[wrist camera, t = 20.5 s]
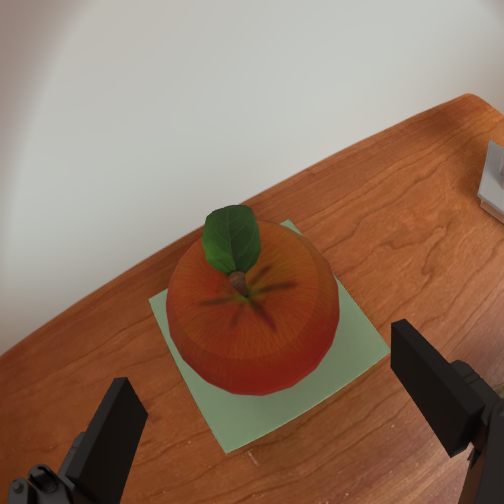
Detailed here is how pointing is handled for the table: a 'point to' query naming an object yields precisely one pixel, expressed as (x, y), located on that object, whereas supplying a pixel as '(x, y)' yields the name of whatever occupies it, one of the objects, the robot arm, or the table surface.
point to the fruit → (252, 304)
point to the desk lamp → (493, 182)
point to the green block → (288, 400)
